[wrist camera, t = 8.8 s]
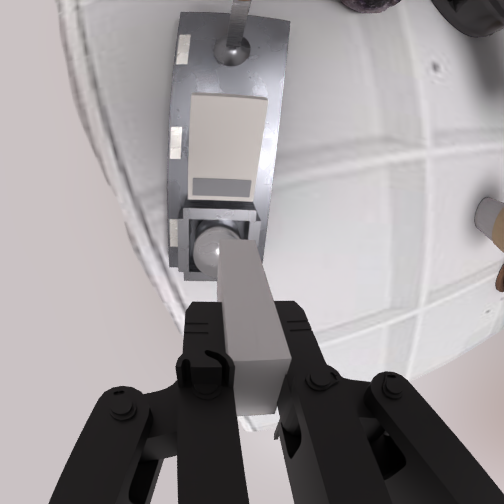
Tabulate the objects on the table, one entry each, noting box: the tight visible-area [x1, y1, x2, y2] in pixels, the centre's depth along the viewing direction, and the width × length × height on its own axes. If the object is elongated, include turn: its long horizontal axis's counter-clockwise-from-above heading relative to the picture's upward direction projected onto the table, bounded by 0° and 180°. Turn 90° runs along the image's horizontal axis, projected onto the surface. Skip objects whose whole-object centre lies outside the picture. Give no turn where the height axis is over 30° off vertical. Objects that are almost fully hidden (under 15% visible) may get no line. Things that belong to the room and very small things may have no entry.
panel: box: [167, 12, 290, 281], centre depth 25 cm, size 26×10×5 cm, turn 174°
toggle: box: [226, 0, 251, 48], centre depth 16 cm, size 2×2×8 cm
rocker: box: [188, 93, 269, 202], centre depth 22 cm, size 9×6×1 cm, turn 174°
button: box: [193, 219, 241, 277], centre depth 27 cm, size 4×4×4 cm
